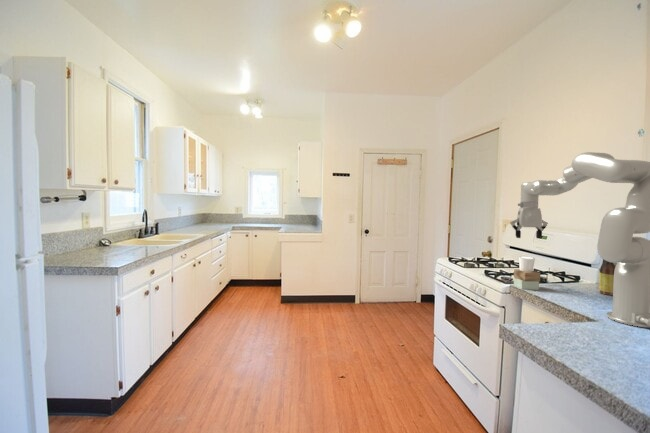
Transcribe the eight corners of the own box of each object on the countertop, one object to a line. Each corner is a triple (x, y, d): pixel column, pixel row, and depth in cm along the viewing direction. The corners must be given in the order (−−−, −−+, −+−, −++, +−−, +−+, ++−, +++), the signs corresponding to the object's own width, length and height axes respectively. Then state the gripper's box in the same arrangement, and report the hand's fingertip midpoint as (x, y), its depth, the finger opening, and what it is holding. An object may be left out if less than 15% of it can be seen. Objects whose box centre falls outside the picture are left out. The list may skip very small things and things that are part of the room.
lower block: (538, 290, 142) (539, 281, 142) (521, 289, 144) (521, 280, 143) (530, 286, 150) (530, 277, 150) (513, 285, 151) (514, 277, 151)
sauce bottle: (608, 292, 139) (610, 253, 139) (620, 296, 133) (622, 255, 132) (594, 291, 140) (596, 252, 139) (606, 295, 134) (607, 255, 133)
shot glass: (537, 271, 144) (538, 258, 143) (525, 272, 143) (526, 259, 142) (526, 268, 151) (527, 255, 150) (515, 268, 150) (515, 256, 149)
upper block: (540, 281, 143) (540, 272, 142) (524, 281, 142) (525, 272, 142) (528, 277, 151) (528, 269, 150) (513, 277, 150) (514, 269, 150)
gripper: (514, 205, 143) (513, 238, 144) (552, 205, 140) (551, 239, 141) (507, 205, 151) (507, 237, 151) (543, 205, 148) (542, 237, 148)
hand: (528, 238), depth 146 cm, fingers open, 9 cm apart
